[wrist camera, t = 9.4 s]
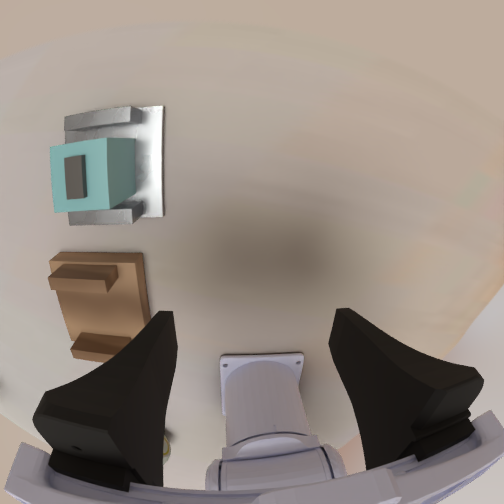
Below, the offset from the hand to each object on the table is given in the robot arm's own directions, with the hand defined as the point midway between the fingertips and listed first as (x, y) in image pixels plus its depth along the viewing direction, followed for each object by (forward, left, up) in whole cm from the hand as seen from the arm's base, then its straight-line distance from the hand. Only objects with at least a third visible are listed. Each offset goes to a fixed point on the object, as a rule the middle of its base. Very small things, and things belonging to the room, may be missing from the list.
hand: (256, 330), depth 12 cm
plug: (+6, +10, -10) cm, 15 cm away
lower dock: (+6, +10, -10) cm, 16 cm away
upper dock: (-5, +12, -10) cm, 16 cm away
